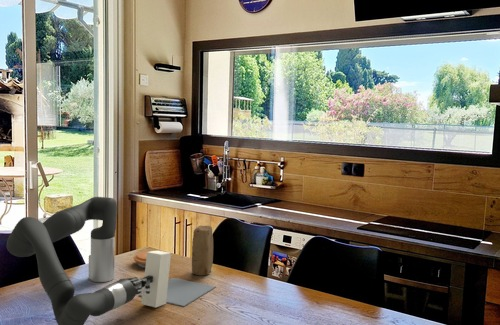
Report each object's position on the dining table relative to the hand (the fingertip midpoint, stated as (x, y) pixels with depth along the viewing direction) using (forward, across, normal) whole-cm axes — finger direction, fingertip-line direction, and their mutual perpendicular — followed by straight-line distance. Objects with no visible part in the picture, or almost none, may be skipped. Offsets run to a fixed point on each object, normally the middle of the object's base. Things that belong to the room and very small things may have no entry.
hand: (151, 278), depth 158 cm
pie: (+38, +29, +11) cm, 49 cm away
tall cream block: (+2, 0, +10) cm, 10 cm away
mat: (+17, 0, +10) cm, 20 cm away
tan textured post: (+41, +4, +10) cm, 42 cm away
